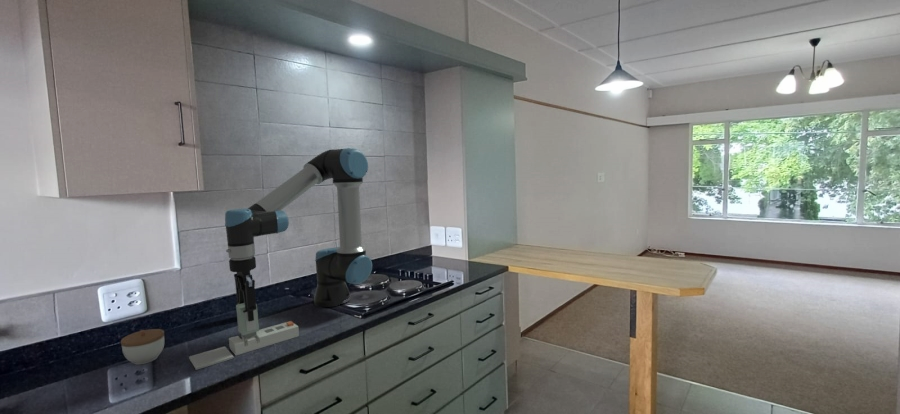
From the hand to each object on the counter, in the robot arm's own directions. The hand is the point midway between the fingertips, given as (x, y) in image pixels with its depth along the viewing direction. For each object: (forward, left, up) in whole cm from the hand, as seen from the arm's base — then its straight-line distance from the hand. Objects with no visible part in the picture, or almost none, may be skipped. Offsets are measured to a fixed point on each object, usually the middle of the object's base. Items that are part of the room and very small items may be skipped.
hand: (248, 327), depth 132 cm
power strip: (-5, 0, -6) cm, 8 cm away
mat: (+11, 0, -6) cm, 13 cm away
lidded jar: (+26, -14, -7) cm, 30 cm away
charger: (0, 0, -3) cm, 3 cm away
